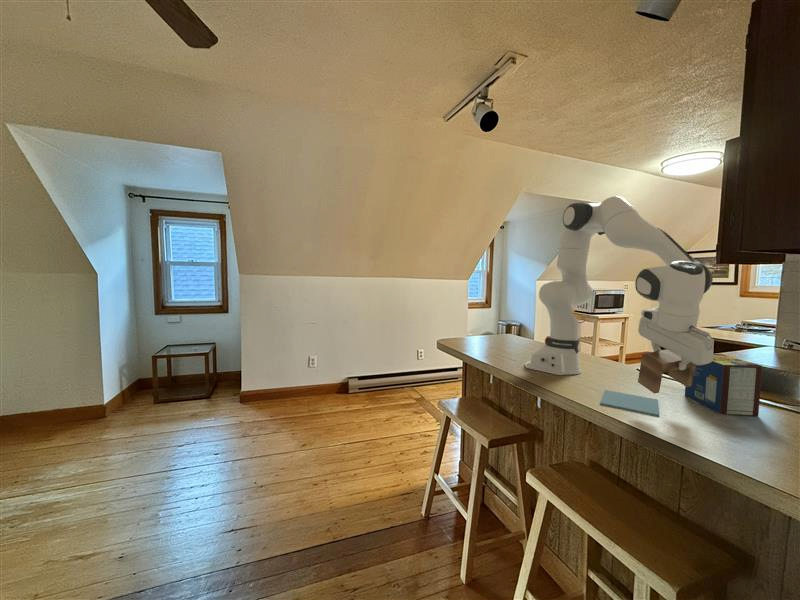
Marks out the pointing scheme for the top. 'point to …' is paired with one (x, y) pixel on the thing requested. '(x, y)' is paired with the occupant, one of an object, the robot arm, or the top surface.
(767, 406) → the top surface
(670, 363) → the brown block
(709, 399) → the protein box
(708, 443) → the top surface
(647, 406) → the rubber mat
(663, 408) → the top surface
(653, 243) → the robot arm
